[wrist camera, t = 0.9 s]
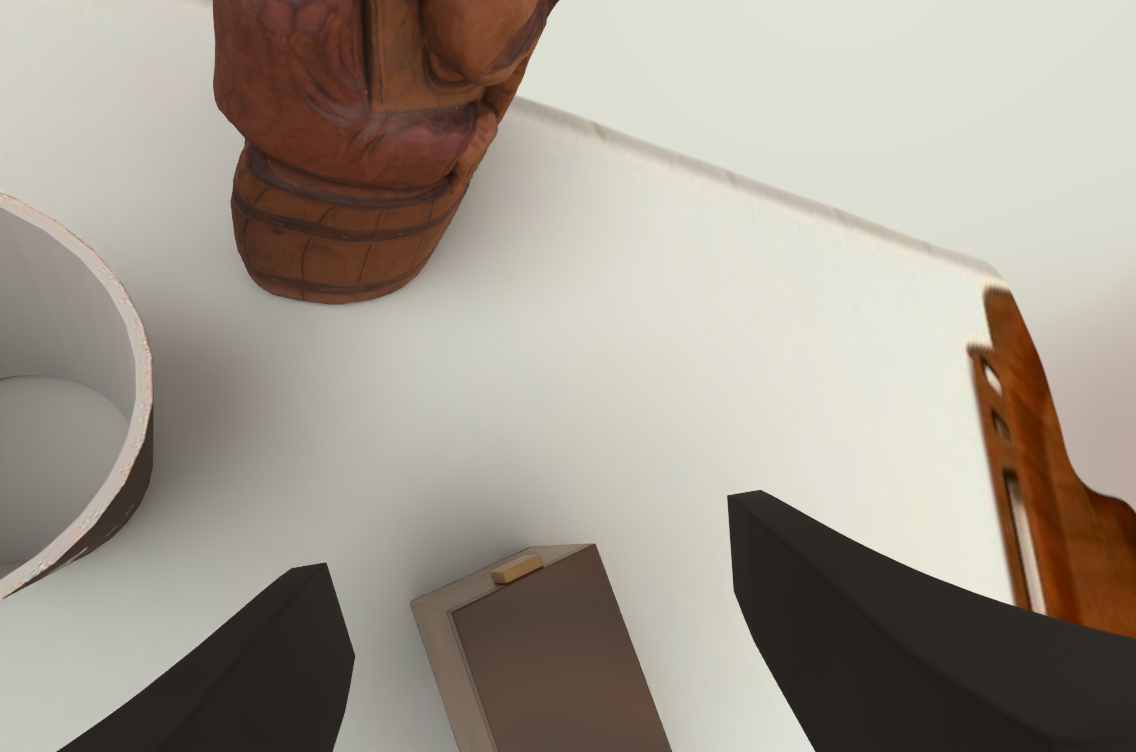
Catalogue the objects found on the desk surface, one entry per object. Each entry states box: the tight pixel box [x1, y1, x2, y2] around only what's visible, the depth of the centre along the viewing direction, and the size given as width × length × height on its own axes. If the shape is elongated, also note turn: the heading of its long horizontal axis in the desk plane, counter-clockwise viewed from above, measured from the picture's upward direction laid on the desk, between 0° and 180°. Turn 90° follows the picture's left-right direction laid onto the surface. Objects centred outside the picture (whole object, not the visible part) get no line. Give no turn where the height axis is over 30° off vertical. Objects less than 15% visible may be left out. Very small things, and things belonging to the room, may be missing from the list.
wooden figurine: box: [213, 0, 559, 304], centre depth 19 cm, size 12×6×18 cm, turn 159°
